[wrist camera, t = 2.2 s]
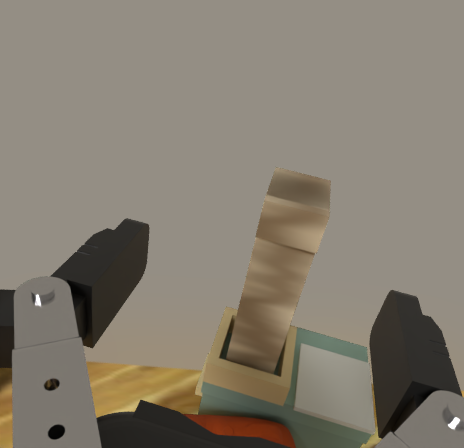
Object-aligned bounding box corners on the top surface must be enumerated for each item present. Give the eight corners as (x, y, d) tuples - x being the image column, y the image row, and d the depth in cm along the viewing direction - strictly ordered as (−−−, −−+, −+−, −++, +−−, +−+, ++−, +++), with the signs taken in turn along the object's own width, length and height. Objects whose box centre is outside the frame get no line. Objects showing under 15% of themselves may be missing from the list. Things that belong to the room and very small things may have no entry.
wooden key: (220, 380, 30) (264, 200, 22) (234, 332, 34) (275, 166, 26) (267, 394, 29) (329, 216, 21) (276, 344, 33) (330, 180, 25)
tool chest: (174, 479, 36) (197, 360, 28) (200, 401, 43) (224, 288, 35) (324, 529, 35) (394, 421, 27) (326, 441, 42) (382, 333, 34)
